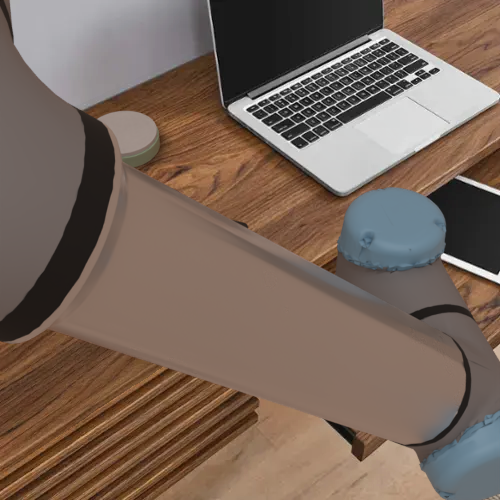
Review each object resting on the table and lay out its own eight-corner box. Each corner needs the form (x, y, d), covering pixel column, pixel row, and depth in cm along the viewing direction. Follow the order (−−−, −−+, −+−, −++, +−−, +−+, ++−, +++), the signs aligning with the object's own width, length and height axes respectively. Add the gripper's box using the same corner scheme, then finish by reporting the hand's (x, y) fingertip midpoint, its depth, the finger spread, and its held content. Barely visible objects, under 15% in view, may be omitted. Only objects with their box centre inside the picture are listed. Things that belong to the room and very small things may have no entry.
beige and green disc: (101, 177, 94) (99, 162, 92) (78, 136, 100) (75, 121, 98) (171, 156, 97) (169, 141, 95) (144, 117, 102) (143, 102, 101)
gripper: (213, 411, 65) (7, 312, 73) (315, 257, 78) (131, 185, 85) (210, 360, 60) (-12, 258, 67) (321, 203, 73) (123, 131, 80)
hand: (68, 217), depth 76 cm, fingers closed on beverage can, 8 cm apart
